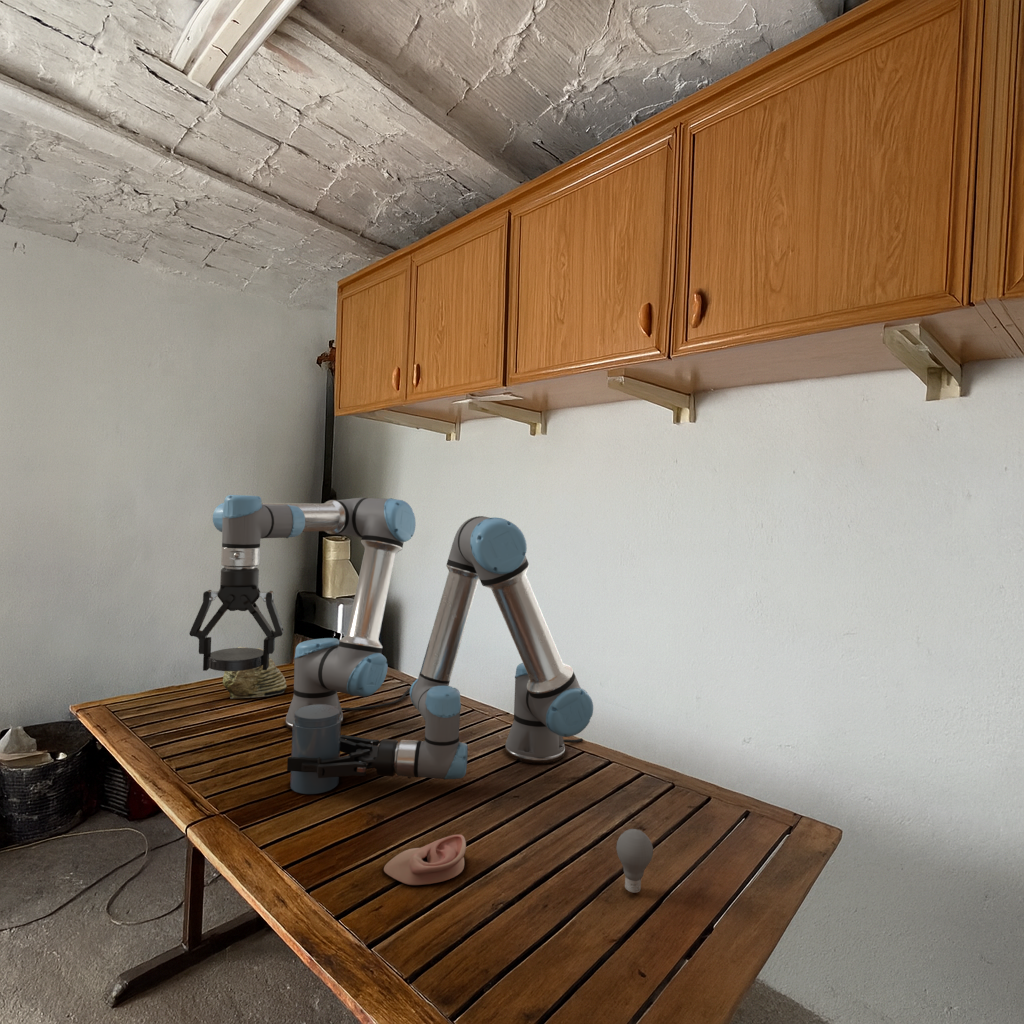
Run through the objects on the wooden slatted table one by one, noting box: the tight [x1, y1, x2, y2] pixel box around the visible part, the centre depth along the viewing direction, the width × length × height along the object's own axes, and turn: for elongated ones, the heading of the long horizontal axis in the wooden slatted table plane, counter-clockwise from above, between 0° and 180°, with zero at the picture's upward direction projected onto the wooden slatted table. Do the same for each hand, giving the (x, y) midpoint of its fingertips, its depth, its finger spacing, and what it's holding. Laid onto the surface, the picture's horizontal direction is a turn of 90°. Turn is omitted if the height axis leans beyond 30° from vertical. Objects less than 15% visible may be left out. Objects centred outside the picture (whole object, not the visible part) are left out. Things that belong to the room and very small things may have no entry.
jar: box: [289, 704, 342, 795], centre depth 140 cm, size 10×10×16 cm
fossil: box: [222, 646, 288, 699], centre depth 198 cm, size 9×18×15 cm, turn 132°
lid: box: [207, 647, 263, 672], centre depth 136 cm, size 11×11×2 cm
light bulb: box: [615, 828, 654, 894], centre depth 106 cm, size 6×6×10 cm
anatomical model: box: [383, 834, 467, 886], centre depth 110 cm, size 13×4×12 cm
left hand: (236, 668), depth 136 cm, fingers closed on lid, 11 cm apart
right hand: (296, 753), depth 140 cm, fingers closed on jar, 10 cm apart
